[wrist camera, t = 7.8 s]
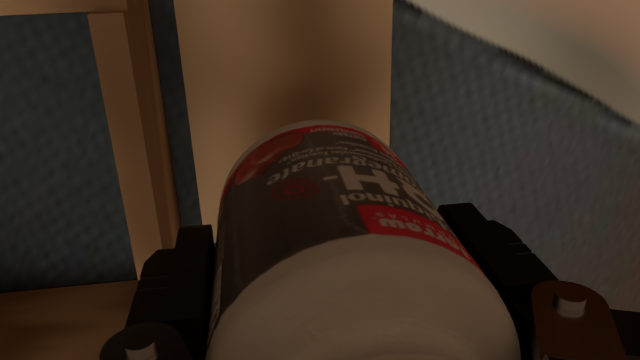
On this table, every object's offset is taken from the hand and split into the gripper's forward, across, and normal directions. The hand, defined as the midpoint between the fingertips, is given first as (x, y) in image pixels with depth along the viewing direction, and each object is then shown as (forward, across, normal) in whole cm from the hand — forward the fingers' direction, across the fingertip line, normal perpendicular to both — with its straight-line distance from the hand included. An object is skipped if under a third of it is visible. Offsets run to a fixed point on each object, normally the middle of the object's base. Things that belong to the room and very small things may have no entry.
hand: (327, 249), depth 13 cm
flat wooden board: (+10, 0, 0) cm, 10 cm away
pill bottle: (+3, 0, 0) cm, 3 cm away
